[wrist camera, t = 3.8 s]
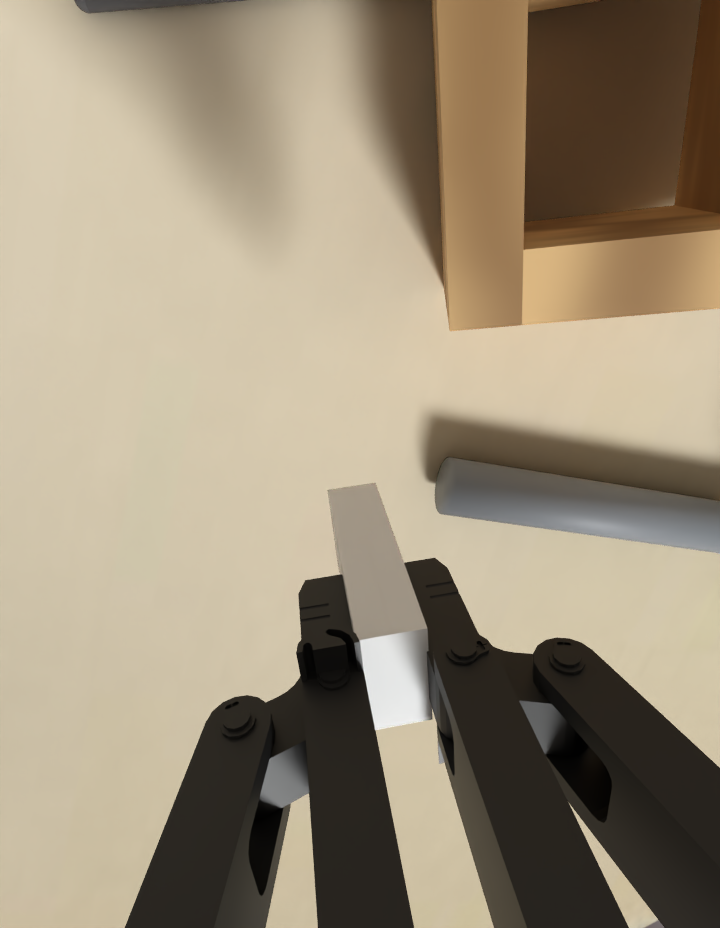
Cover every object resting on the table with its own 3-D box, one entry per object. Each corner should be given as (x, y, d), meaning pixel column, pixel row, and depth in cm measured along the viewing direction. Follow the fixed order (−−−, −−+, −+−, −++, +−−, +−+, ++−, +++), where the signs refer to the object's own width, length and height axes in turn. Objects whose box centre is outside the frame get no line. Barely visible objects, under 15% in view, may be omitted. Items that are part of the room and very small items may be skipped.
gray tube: (432, 477, 30) (723, 522, 33) (436, 526, 28) (742, 567, 31) (453, 444, 27) (763, 495, 31) (459, 494, 26) (787, 543, 29)
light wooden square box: (443, 286, 25) (450, 331, 19) (429, -54, 20) (430, -159, 13) (725, 259, 23) (842, 297, 17) (792, -120, 18) (1001, -279, 12)
